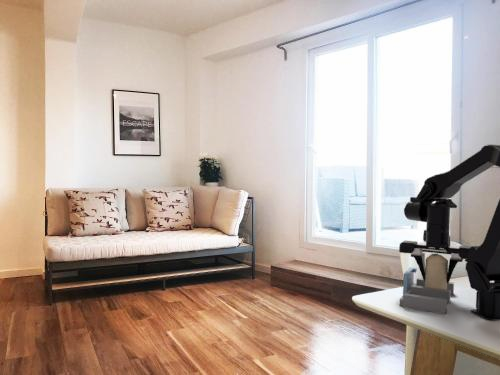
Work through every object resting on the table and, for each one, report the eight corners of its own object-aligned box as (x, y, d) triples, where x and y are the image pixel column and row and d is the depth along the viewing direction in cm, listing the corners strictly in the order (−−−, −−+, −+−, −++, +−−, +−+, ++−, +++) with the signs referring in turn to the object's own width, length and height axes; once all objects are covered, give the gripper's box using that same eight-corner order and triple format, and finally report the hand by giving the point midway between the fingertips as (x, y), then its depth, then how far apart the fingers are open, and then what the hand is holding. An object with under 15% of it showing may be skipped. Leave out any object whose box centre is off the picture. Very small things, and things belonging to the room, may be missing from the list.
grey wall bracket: (445, 314, 100) (446, 288, 100) (394, 305, 106) (395, 281, 106) (453, 293, 119) (454, 271, 119) (410, 287, 125) (410, 266, 125)
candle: (450, 294, 113) (451, 256, 113) (429, 293, 113) (430, 255, 113) (441, 288, 119) (442, 252, 118) (421, 288, 119) (422, 252, 119)
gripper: (478, 224, 118) (476, 280, 118) (407, 219, 127) (405, 271, 128) (476, 227, 108) (474, 289, 109) (399, 222, 118) (398, 279, 118)
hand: (436, 281), depth 116 cm, fingers closed on candle, 5 cm apart
